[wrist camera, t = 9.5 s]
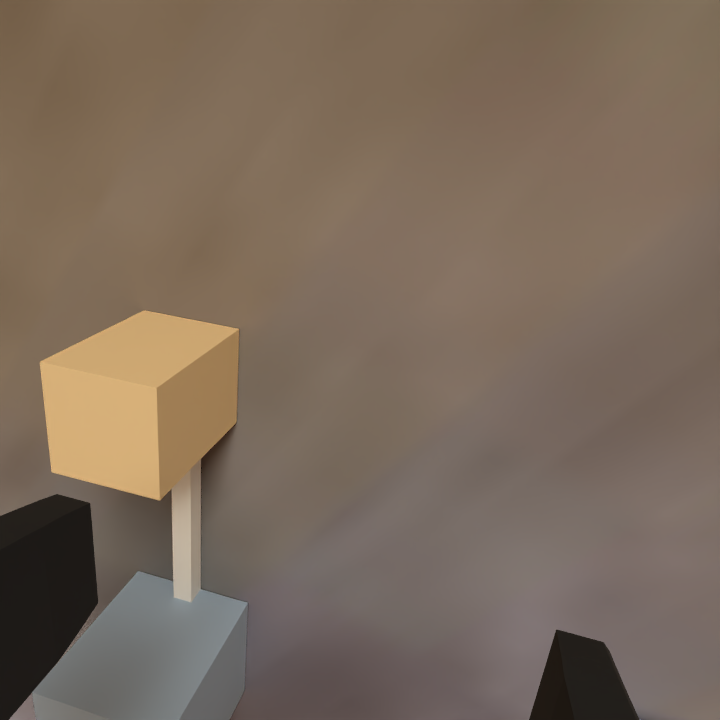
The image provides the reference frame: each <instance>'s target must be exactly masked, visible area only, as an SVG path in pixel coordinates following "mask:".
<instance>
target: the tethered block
mask: <svg viewBox="0 0 720 720" xmlns="http://www.w3.org/2000/svg"><path fill="white" fill-rule="evenodd" d="M238 354H239V329H237V328H232V327H226V326H221V325H216V324H211V323H206V322H201V321H196V320H191V319H186V318H181V317H176V316H170V315H165V314H160V313H155V312H150V311H145V310H144V311H142V312H140V313H138V314H136V315H134V316H132V317H130V318H128V319H126V320H124V321H122V322H120V323H118V324H116V325H114V326H111V327H109V328H107V329H105V330H103V331H101V332H99V333H97V334H95V335H93V336H91V337H89V338H87V339H85V340H83V341H81V342H79V343H77V344H75V345H73V346H71V347H69V348H67V349H65V350H63V351H61V352H59V353H57V354H55V355H53V356H51V357H49V358H47V359H45V360H43V361H41V362H40V368H41V377H42V387H43V396H44V405H45V414H46V424H47V433H48V442H49V452H50V461H51V470H52V472H53V473H57V474H61V475H64V476H68V477H72V478H76V479H80V480H83V481H87V482H91V483H95V484H99V485H102V486H106V487H110V488H114V489H118V490H121V491H125V492H129V493H133V494H137V495H140V496H144V497H148V498H152V499H156V500H159V501H160V500H161V499H162V498H163V497H164V496H165V495H166V494H167V493H168V492H169V491H170V490H171V489H172V536H173V581H171V580H167V579H164V578H161V577H157V576H154V575H150V574H147V573H143V572H140V571H138V572H137V573H136V574H135V575H134V576H133V578H132V579H131V580H130V581H129V582H128V583H127V584H126V586H125V587H124V588H123V589H122V590H121V591H120V592H119V593H118V595H117V596H116V597H115V598H114V599H113V600H112V601H111V603H110V604H109V605H108V606H107V607H106V608H105V609H104V611H103V612H102V613H101V614H100V615H99V616H98V617H97V619H96V620H95V621H94V622H93V623H92V624H91V625H90V627H89V628H88V629H87V630H86V631H85V632H84V633H83V635H82V636H81V637H80V638H79V639H78V640H77V641H76V643H75V644H74V645H73V646H72V647H71V648H70V649H69V651H68V652H67V653H66V654H65V655H64V656H63V657H62V659H61V660H60V661H59V662H58V663H57V664H56V665H55V667H54V668H53V669H52V670H51V671H50V672H49V673H48V674H47V676H46V677H45V678H44V679H43V680H42V681H41V683H40V684H39V685H38V686H37V687H36V688H35V689H34V691H33V692H32V696H33V703H34V710H35V717H36V720H230V718H231V716H232V714H233V712H234V710H235V708H236V706H237V704H238V702H239V700H240V698H241V696H242V694H243V692H244V690H245V666H246V642H247V618H248V603H247V602H243V601H240V600H236V599H233V598H229V597H226V596H222V595H219V594H216V593H212V592H209V591H205V590H202V589H201V458H202V457H203V456H204V455H205V454H206V453H207V452H208V451H209V450H210V449H211V448H212V447H213V446H214V445H215V444H216V443H217V442H218V441H219V440H220V439H221V438H222V437H223V436H224V435H225V434H226V433H227V432H228V431H229V430H230V429H231V428H232V427H233V426H234V425H235V424H236V422H237V390H238Z"/></svg>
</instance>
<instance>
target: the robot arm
mask: <svg viewBox="0 0 720 720" xmlns="http://www.w3.org/2000/svg"><path fill="white" fill-rule="evenodd" d="M97 603H98V595H97V583H96V570H95V558H94V546H93V533H92V521H91V509H90V503H88V502H84V501H80V500H77V499H73V498H69V497H66V496H62V495H58V494H56V495H53V496H50V497H48V498H45V499H42V500H39V501H37V502H34V503H32V504H29V505H26V506H24V507H21V508H19V509H17V510H14V511H12V512H9V513H7V514H4V515H2V516H0V720H9V719H10V717H11V716H12V715H13V714H14V713H15V712H16V710H17V709H18V708H19V707H20V706H21V705H22V703H23V702H24V701H25V700H26V699H27V698H28V696H29V695H30V694H31V693H32V692H33V691H34V689H35V688H36V687H37V686H38V685H39V684H40V683H41V681H42V680H43V679H44V678H45V677H46V675H47V674H48V673H49V672H50V671H51V669H52V668H53V667H54V666H55V665H56V663H57V662H58V661H59V659H60V658H61V657H62V655H63V654H64V652H65V651H66V650H67V648H68V647H69V645H70V644H71V642H72V641H73V640H74V638H75V637H76V635H77V634H78V632H79V631H80V629H81V628H82V626H83V625H84V623H85V622H86V620H87V619H88V617H89V616H90V614H91V613H92V611H93V610H94V608H95V607H96V605H97ZM529 720H640V719H639V718H638V716H637V713H636V711H635V709H634V707H633V705H632V702H631V700H630V698H629V696H628V693H627V691H626V689H625V687H624V684H623V682H622V680H621V677H620V675H619V673H618V670H617V668H616V666H615V663H614V661H613V658H612V656H611V654H610V651H609V650H608V648H607V647H606V645H605V644H604V642H601V641H597V640H593V639H590V638H586V637H582V636H578V635H575V634H571V633H567V632H564V631H560V630H556V633H555V636H554V639H553V643H552V646H551V649H550V652H549V656H548V659H547V662H546V666H545V669H544V672H543V676H542V679H541V682H540V686H539V689H538V692H537V696H536V699H535V702H534V706H533V709H532V712H531V716H530V719H529Z"/></svg>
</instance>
